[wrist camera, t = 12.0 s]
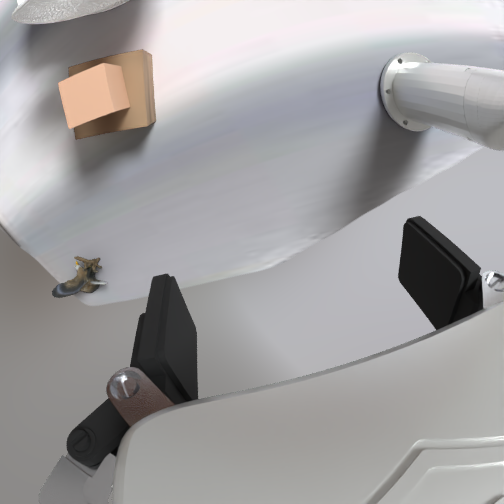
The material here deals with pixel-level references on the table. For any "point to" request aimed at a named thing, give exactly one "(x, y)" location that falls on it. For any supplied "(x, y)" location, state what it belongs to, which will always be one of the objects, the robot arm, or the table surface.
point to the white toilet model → (59, 9)
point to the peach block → (93, 94)
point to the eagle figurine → (80, 279)
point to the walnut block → (138, 91)
